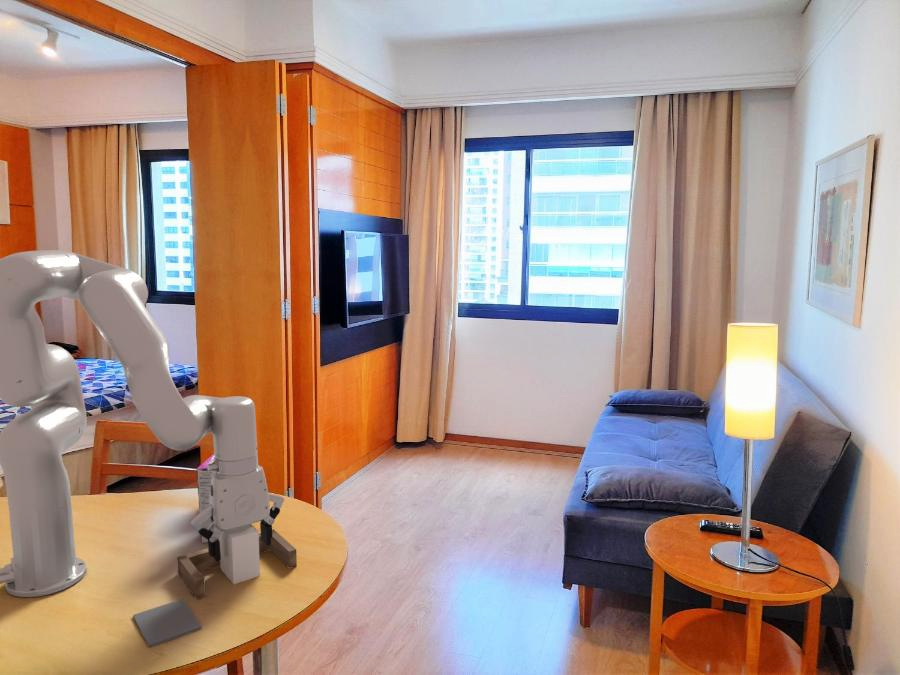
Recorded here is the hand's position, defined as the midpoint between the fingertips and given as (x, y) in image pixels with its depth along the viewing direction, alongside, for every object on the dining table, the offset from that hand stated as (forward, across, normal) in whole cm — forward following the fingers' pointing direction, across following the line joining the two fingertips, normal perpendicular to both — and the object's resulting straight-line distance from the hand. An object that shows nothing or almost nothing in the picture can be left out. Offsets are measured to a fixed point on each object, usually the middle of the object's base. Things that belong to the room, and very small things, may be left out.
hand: (241, 550), depth 121 cm
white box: (+4, 0, 0) cm, 4 cm away
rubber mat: (+4, -16, -8) cm, 18 cm away
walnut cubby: (+4, 0, 0) cm, 4 cm away
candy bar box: (+4, +2, +19) cm, 19 cm away
